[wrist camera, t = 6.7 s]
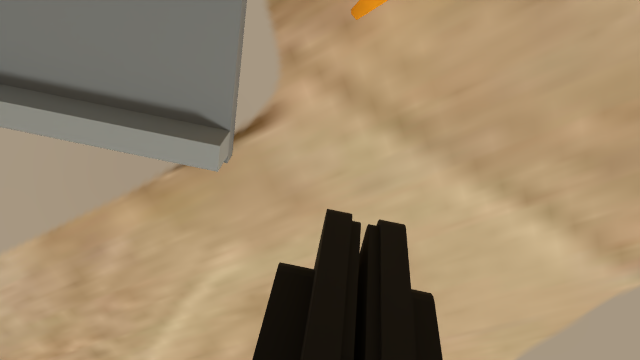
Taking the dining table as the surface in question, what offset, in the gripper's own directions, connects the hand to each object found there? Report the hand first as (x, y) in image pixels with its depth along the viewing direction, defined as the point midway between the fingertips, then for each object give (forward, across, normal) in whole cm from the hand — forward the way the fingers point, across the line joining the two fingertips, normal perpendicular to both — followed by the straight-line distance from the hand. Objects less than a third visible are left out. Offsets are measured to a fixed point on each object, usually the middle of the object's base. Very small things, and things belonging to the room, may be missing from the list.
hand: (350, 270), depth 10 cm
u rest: (+16, +14, +1) cm, 22 cm away
